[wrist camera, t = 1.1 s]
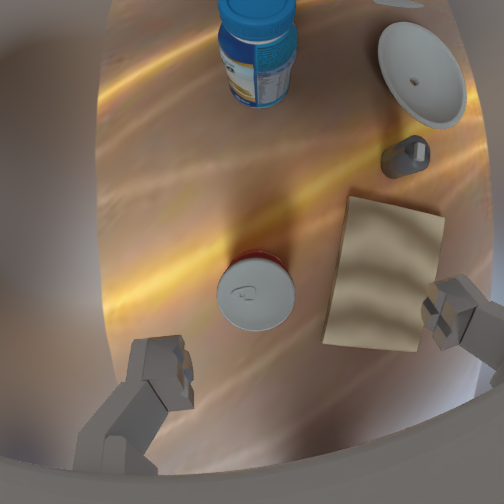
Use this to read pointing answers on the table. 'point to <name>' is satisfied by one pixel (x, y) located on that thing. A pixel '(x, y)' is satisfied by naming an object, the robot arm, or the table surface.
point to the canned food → (256, 291)
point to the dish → (422, 74)
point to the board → (382, 276)
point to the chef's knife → (400, 3)
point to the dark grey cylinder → (406, 157)
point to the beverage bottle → (258, 48)
